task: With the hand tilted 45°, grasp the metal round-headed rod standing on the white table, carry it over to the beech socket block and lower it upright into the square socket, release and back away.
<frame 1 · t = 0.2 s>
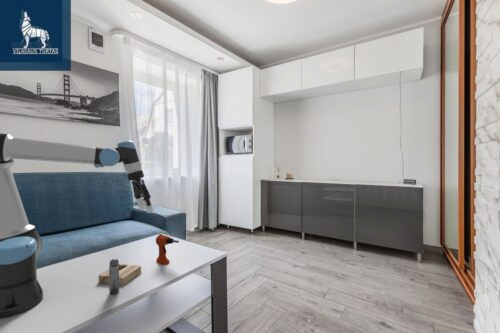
hand: (146, 210, 122), 27 cm above the table, tool tilted 15°, fingers open, 13 cm apart
toy drill: (167, 264, 120), on the table
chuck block: (120, 276, 107), on the table
metal round-headed rod: (114, 292, 94), on the table
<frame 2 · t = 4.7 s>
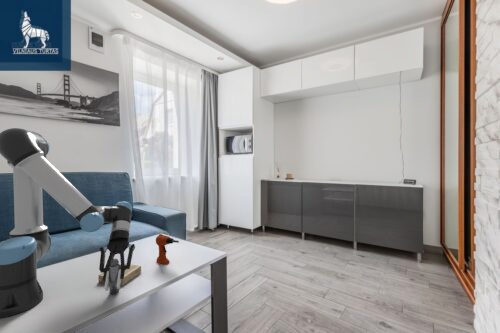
hand: (112, 288, 90), 4 cm above the table, tool tilted 45°, fingers closed on metal round-headed rod, 3 cm apart
metal round-headed rod: (114, 292, 94), on the table, touching gripper
everything else where it was.
when the fingers open (5 cm above the table, at t = 9.9 s): metal round-headed rod drops 1 cm, resting on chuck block.
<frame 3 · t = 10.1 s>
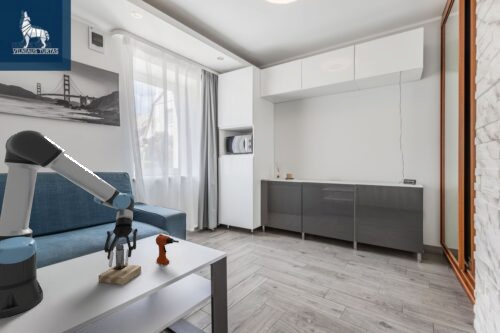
hand: (118, 265, 106), 6 cm above the table, tool tilted 45°, fingers open, 6 cm apart
metal round-headed rod: (120, 273, 110), resting on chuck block
everything else where it was.
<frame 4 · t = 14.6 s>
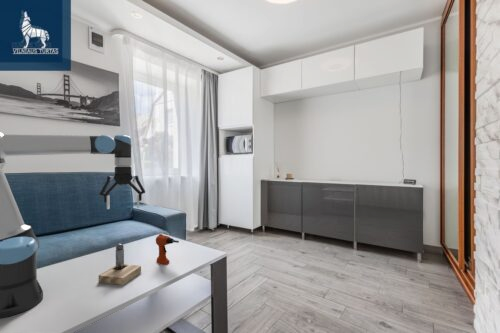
hand: (123, 208, 120), 29 cm above the table, tool pointing down, fingers open, 13 cm apart
nothing on the table moved.
at the end: metal round-headed rod 0.0 cm from the target spot in the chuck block, point 0.4 cm above the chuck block's base; metal round-headed rod tilted 1°; the gripper is holding nothing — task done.
